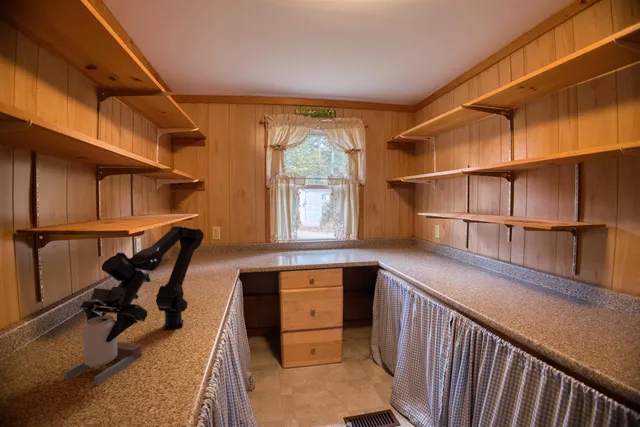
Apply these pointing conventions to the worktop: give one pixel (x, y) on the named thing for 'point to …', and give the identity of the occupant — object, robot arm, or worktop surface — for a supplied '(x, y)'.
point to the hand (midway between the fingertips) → (95, 340)
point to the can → (98, 341)
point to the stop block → (128, 350)
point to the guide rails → (101, 376)
